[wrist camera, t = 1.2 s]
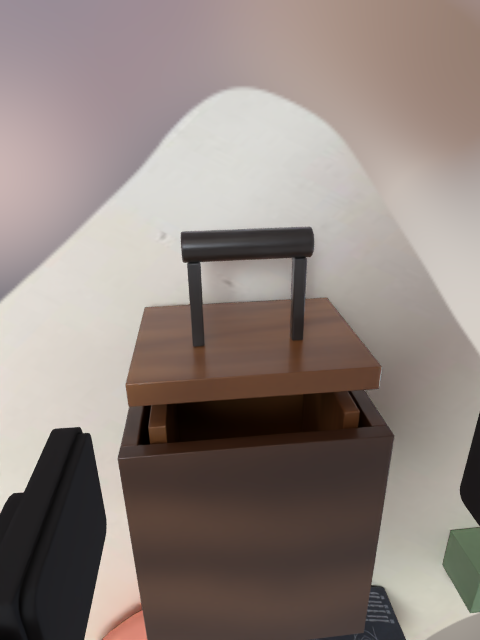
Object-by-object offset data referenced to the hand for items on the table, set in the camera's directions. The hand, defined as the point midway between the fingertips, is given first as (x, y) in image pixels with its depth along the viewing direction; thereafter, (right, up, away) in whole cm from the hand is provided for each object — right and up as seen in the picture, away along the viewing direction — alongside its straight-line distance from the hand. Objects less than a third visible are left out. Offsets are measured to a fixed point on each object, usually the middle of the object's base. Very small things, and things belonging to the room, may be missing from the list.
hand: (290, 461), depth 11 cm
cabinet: (-1, -5, +22) cm, 22 cm away
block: (+20, -17, +30) cm, 40 cm away
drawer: (-1, +1, +18) cm, 19 cm away
